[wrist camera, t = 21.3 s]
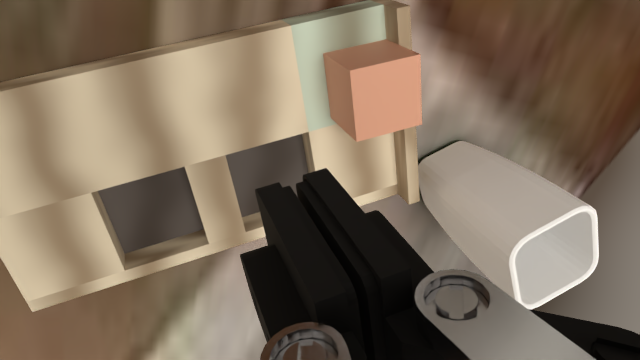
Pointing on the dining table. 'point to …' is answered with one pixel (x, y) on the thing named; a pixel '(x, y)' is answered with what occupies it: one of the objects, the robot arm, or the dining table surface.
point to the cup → (511, 222)
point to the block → (374, 88)
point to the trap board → (181, 149)
